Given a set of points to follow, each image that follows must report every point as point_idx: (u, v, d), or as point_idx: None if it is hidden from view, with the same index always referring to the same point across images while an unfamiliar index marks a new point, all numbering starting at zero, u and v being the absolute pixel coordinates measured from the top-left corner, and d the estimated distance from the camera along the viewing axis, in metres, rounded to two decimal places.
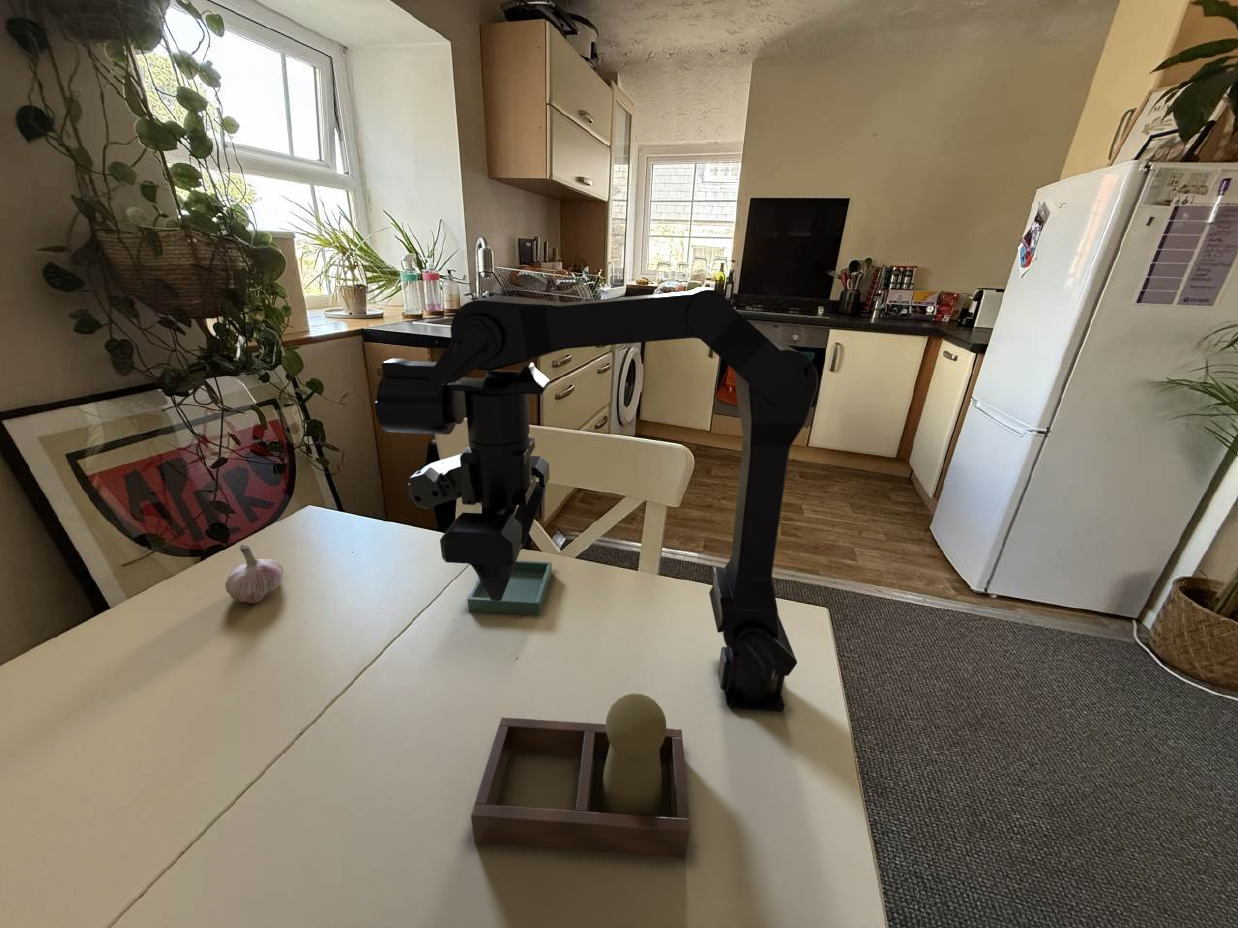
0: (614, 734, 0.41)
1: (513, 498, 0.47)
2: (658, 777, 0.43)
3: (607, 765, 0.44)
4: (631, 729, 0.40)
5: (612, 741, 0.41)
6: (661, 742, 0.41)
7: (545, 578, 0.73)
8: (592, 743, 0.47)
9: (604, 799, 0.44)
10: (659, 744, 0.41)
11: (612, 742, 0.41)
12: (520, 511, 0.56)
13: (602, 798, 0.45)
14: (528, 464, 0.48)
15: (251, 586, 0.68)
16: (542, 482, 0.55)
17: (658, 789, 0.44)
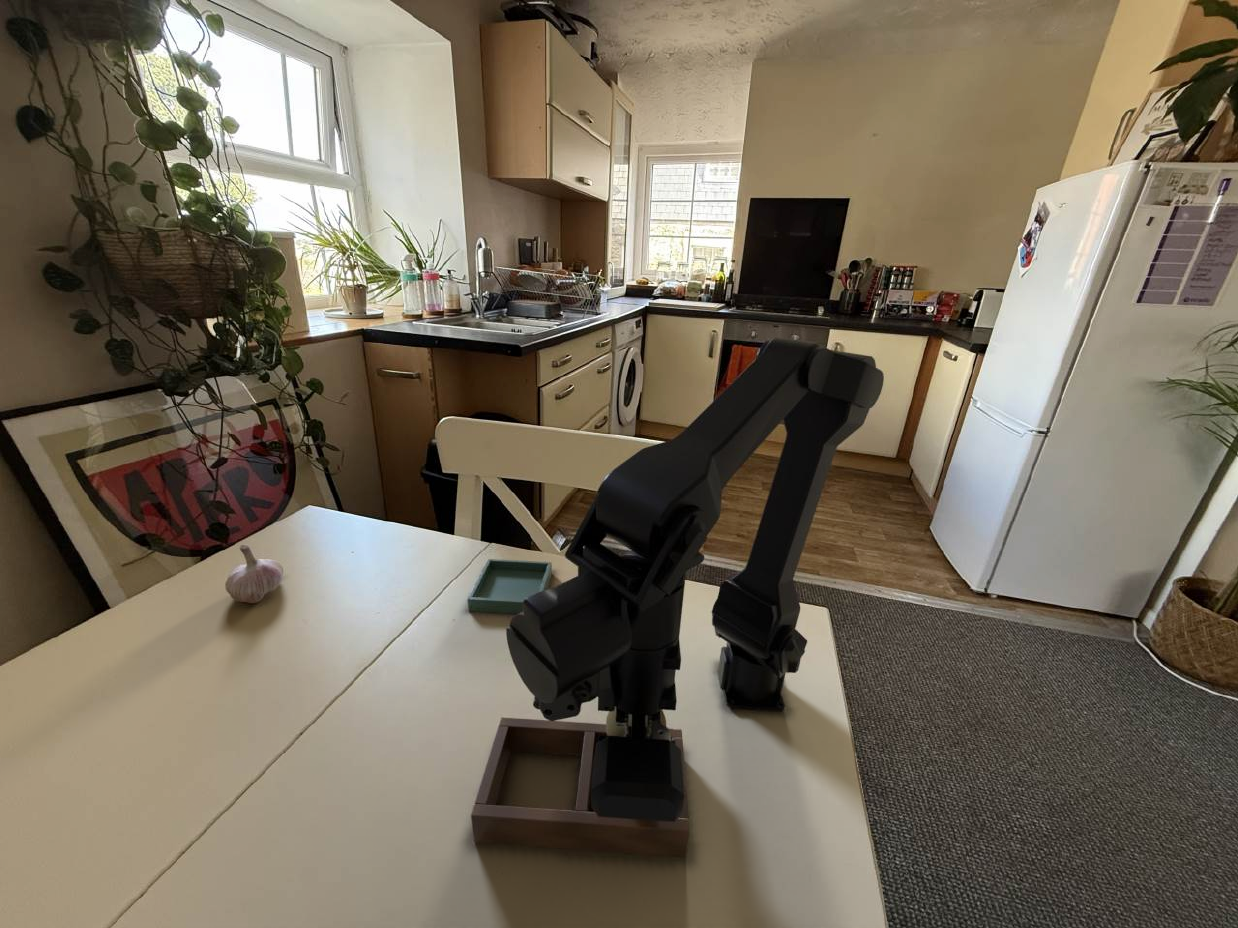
0: (614, 734, 0.41)
1: (661, 702, 0.38)
2: None
3: None
4: None
5: None
6: None
7: (545, 578, 0.73)
8: (592, 743, 0.47)
9: None
10: None
11: None
12: None
13: None
14: None
15: (251, 586, 0.68)
16: None
17: None
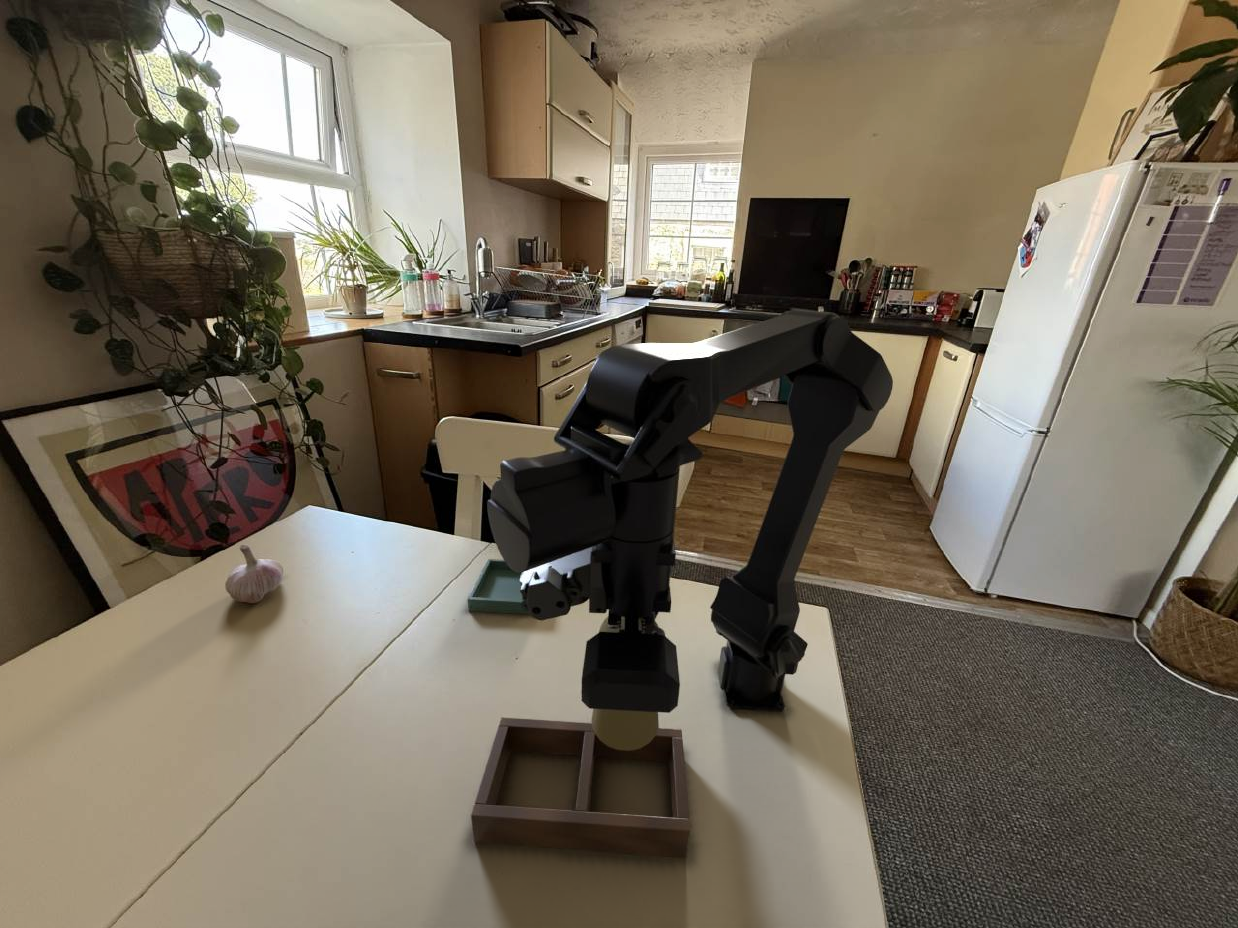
0: None
1: (655, 604, 0.36)
2: None
3: None
4: None
5: None
6: None
7: None
8: (592, 743, 0.47)
9: (597, 719, 0.42)
10: None
11: None
12: None
13: (595, 719, 0.43)
14: None
15: (251, 586, 0.68)
16: None
17: None
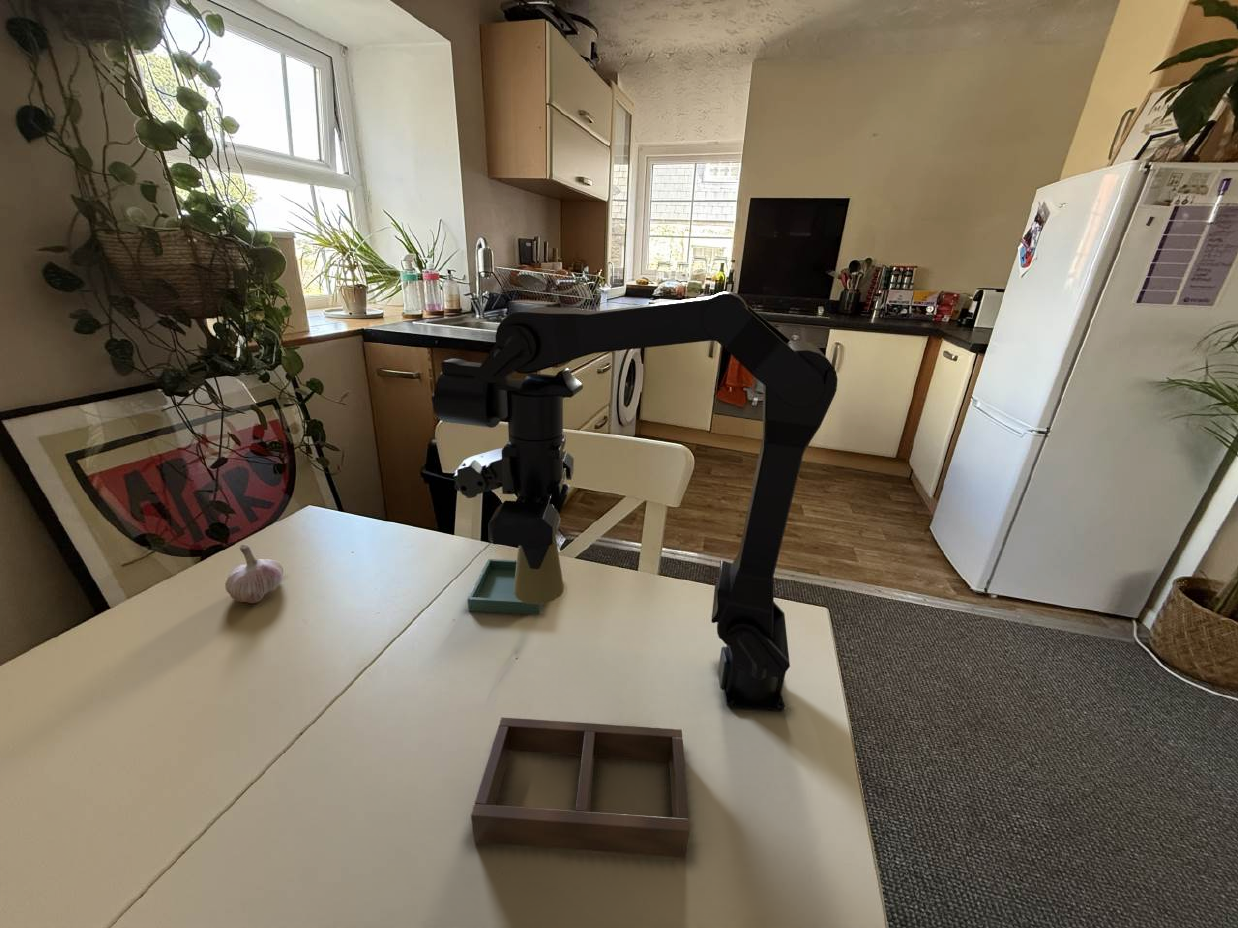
0: None
1: (548, 488, 0.52)
2: (555, 563, 0.58)
3: (517, 556, 0.58)
4: None
5: None
6: None
7: None
8: (592, 743, 0.47)
9: (516, 583, 0.58)
10: None
11: None
12: None
13: (514, 584, 0.59)
14: (561, 458, 0.53)
15: (251, 586, 0.68)
16: (569, 475, 0.60)
17: (556, 574, 0.58)
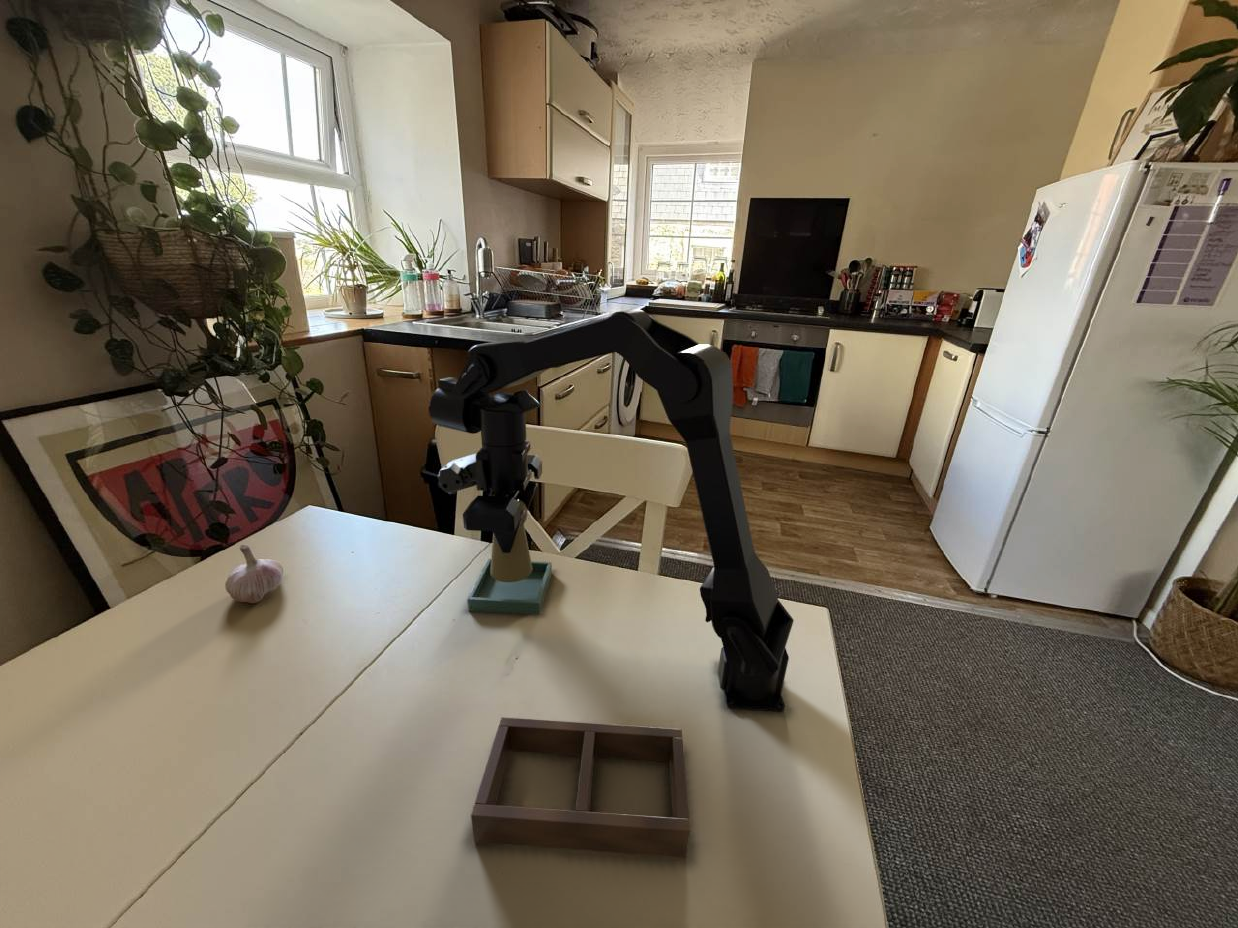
0: None
1: (514, 485, 0.64)
2: (524, 548, 0.69)
3: None
4: None
5: None
6: None
7: (545, 578, 0.73)
8: (592, 743, 0.47)
9: (491, 565, 0.70)
10: None
11: None
12: None
13: (491, 566, 0.71)
14: (525, 461, 0.65)
15: (251, 586, 0.68)
16: (536, 475, 0.72)
17: (524, 557, 0.70)
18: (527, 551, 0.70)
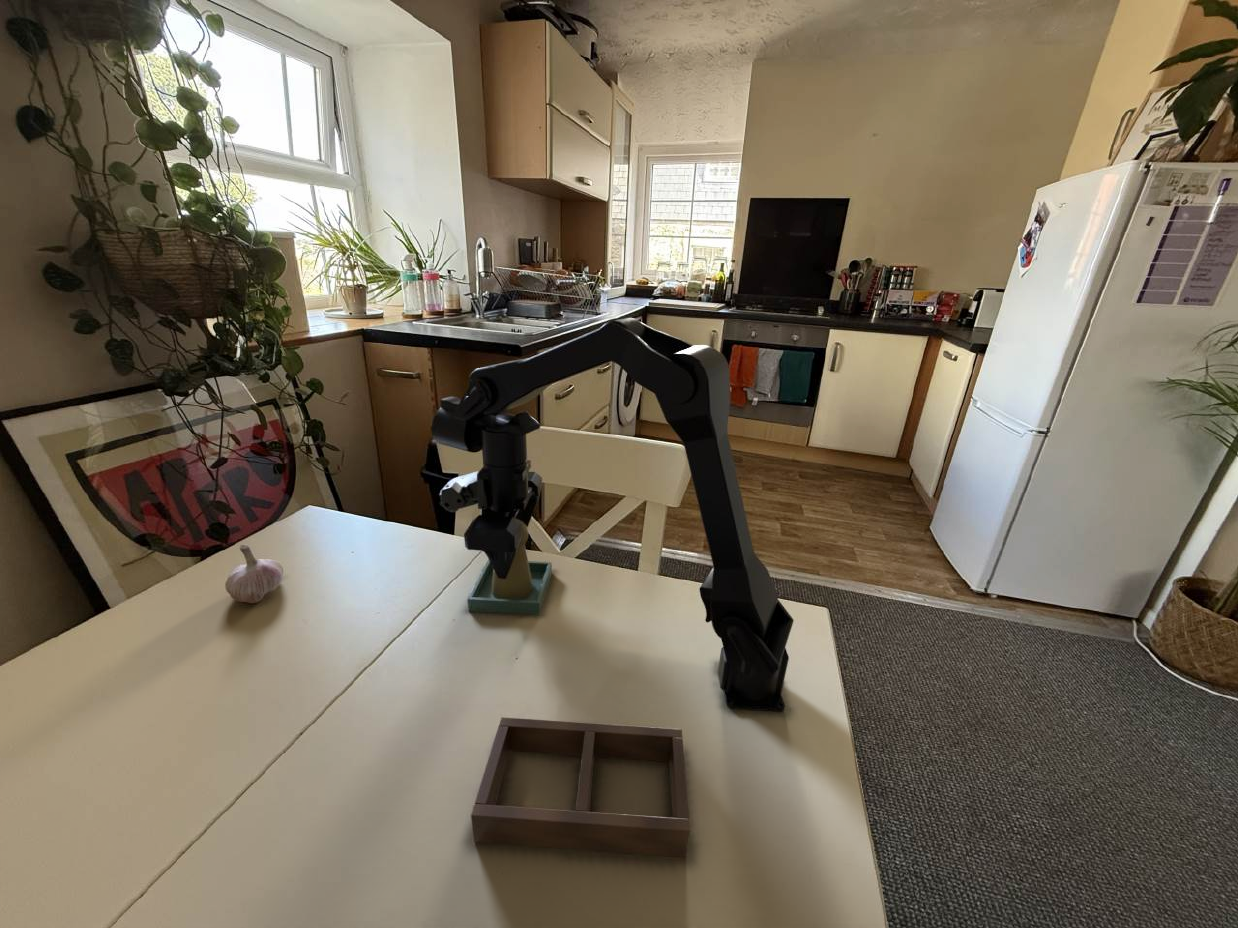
0: None
1: (515, 504, 0.65)
2: (524, 568, 0.71)
3: None
4: None
5: None
6: (522, 540, 0.68)
7: (545, 578, 0.73)
8: (592, 743, 0.47)
9: (493, 584, 0.71)
10: (520, 541, 0.68)
11: None
12: (520, 513, 0.74)
13: (492, 585, 0.72)
14: (526, 480, 0.66)
15: (251, 586, 0.68)
16: (536, 492, 0.73)
17: (525, 577, 0.71)
18: (528, 570, 0.72)
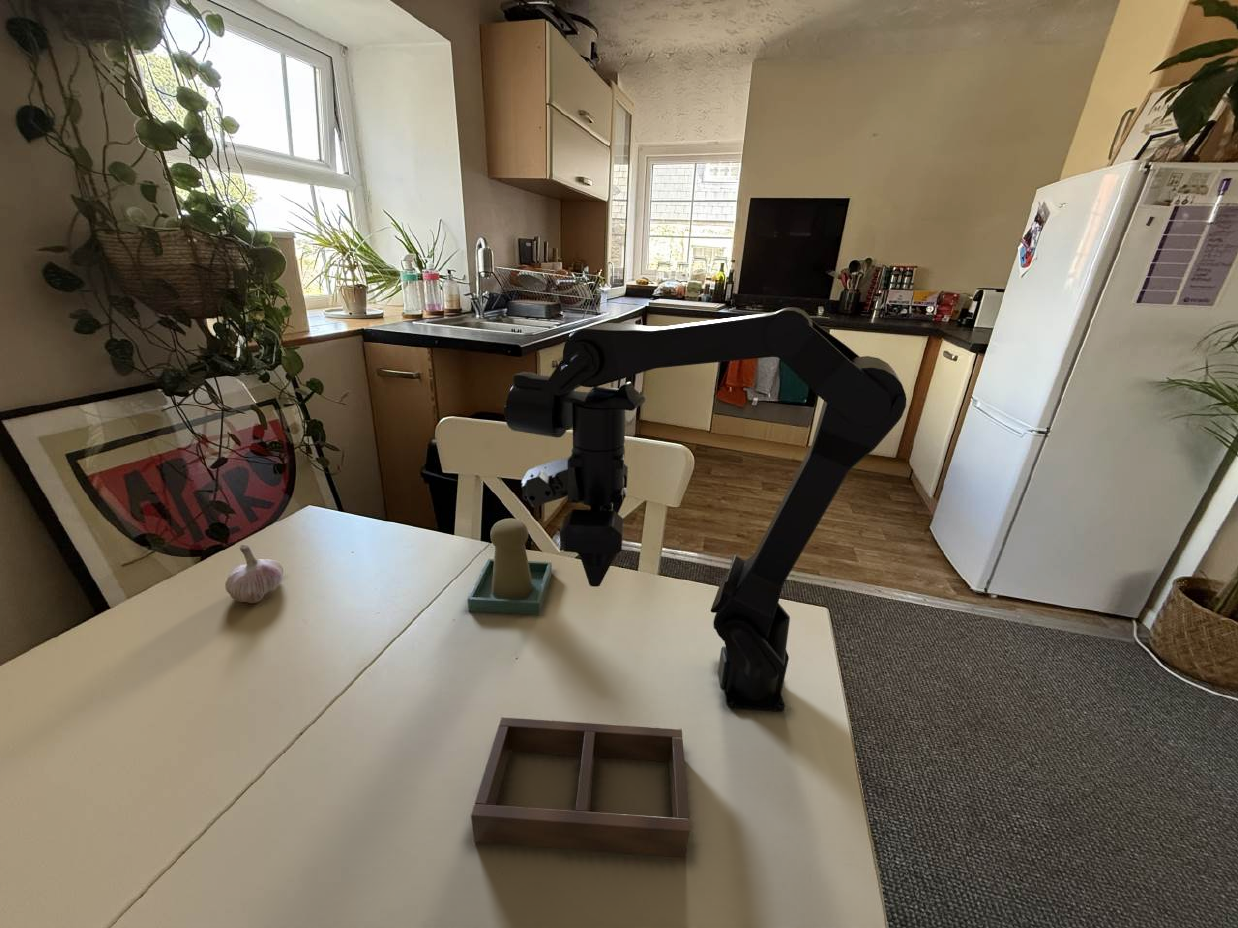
0: (492, 534, 0.68)
1: (611, 497, 0.54)
2: (524, 568, 0.71)
3: (494, 562, 0.71)
4: (502, 530, 0.67)
5: (492, 540, 0.68)
6: (522, 540, 0.68)
7: (545, 578, 0.73)
8: (592, 743, 0.47)
9: (493, 584, 0.71)
10: (520, 541, 0.68)
11: (492, 540, 0.68)
12: None
13: (492, 585, 0.72)
14: (623, 467, 0.55)
15: (251, 586, 0.68)
16: (625, 483, 0.62)
17: (525, 577, 0.71)
18: (528, 570, 0.72)
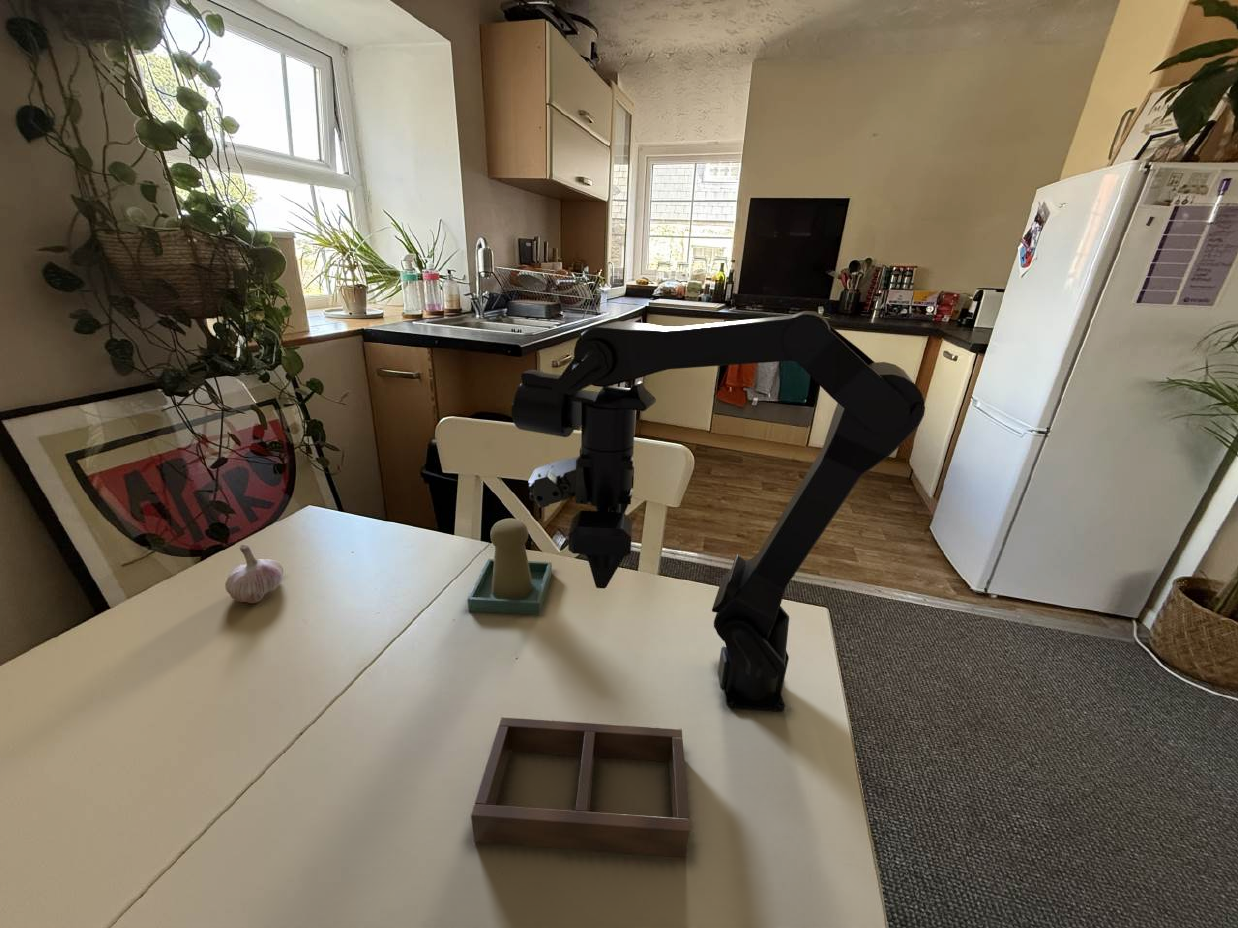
0: (492, 534, 0.68)
1: (620, 498, 0.54)
2: (524, 568, 0.71)
3: (494, 562, 0.71)
4: (502, 530, 0.67)
5: (492, 540, 0.68)
6: (522, 540, 0.68)
7: (545, 578, 0.73)
8: (592, 743, 0.47)
9: (493, 584, 0.71)
10: (520, 541, 0.68)
11: (492, 540, 0.68)
12: (610, 510, 0.63)
13: (492, 585, 0.72)
14: None
15: (251, 586, 0.68)
16: (632, 484, 0.62)
17: (525, 577, 0.71)
18: (528, 570, 0.72)
